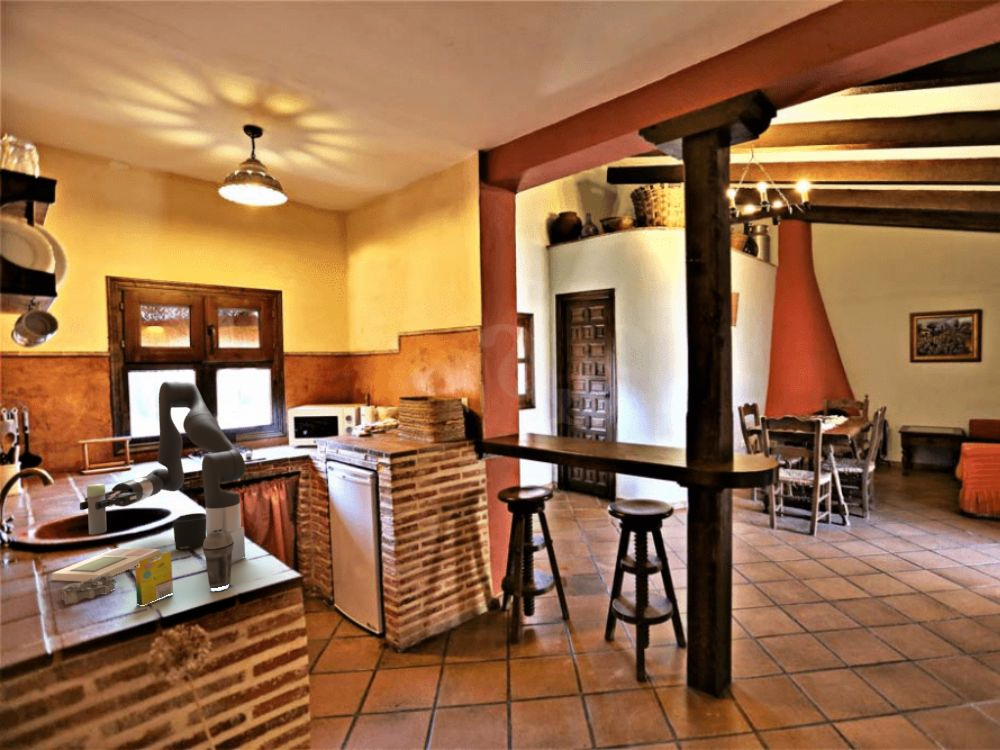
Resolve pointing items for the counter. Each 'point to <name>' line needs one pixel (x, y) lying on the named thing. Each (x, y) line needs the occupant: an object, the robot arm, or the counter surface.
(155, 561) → the crayon box
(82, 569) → the drawing board
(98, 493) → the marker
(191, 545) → the pen holder
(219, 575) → the beverage cup
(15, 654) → the counter surface
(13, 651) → the counter surface
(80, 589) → the egg carton
